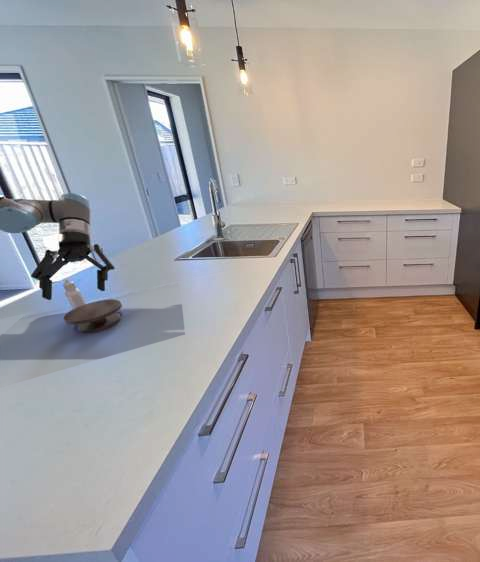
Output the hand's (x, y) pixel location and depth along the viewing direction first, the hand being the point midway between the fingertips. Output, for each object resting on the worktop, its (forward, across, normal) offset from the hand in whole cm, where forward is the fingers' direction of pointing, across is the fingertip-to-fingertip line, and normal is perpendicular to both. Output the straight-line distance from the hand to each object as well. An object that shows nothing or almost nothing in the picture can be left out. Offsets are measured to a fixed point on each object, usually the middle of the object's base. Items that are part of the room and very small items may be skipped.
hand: (74, 294), depth 95 cm
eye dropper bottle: (+5, 0, +5) cm, 7 cm away
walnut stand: (+13, +8, -3) cm, 15 cm away
